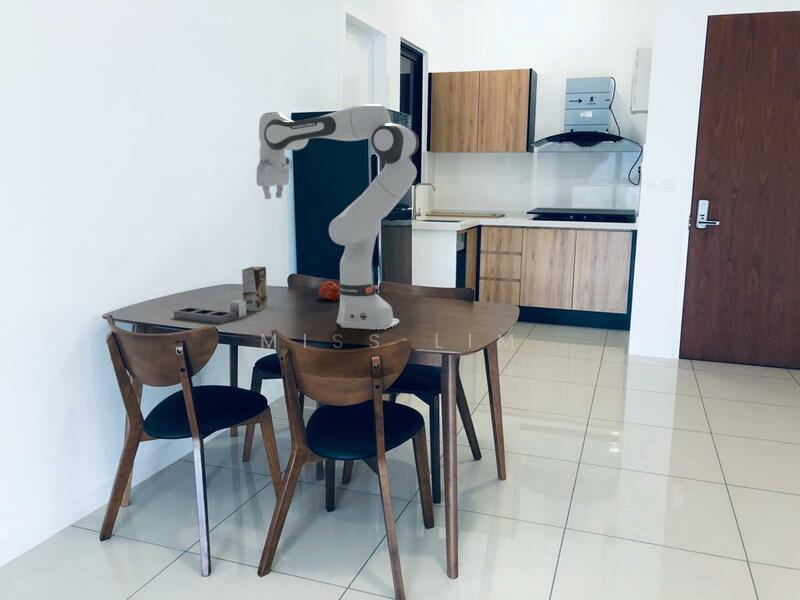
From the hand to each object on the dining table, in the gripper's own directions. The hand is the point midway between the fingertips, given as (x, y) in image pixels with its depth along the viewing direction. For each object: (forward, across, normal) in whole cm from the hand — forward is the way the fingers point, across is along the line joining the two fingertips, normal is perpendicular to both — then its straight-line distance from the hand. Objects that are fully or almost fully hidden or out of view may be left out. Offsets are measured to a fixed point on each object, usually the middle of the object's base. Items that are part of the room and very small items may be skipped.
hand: (273, 198), depth 232 cm
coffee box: (+44, +7, +12) cm, 46 cm away
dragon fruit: (+43, +32, -10) cm, 55 cm away
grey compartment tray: (+44, -13, +23) cm, 51 cm away
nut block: (+44, -7, +12) cm, 46 cm away
